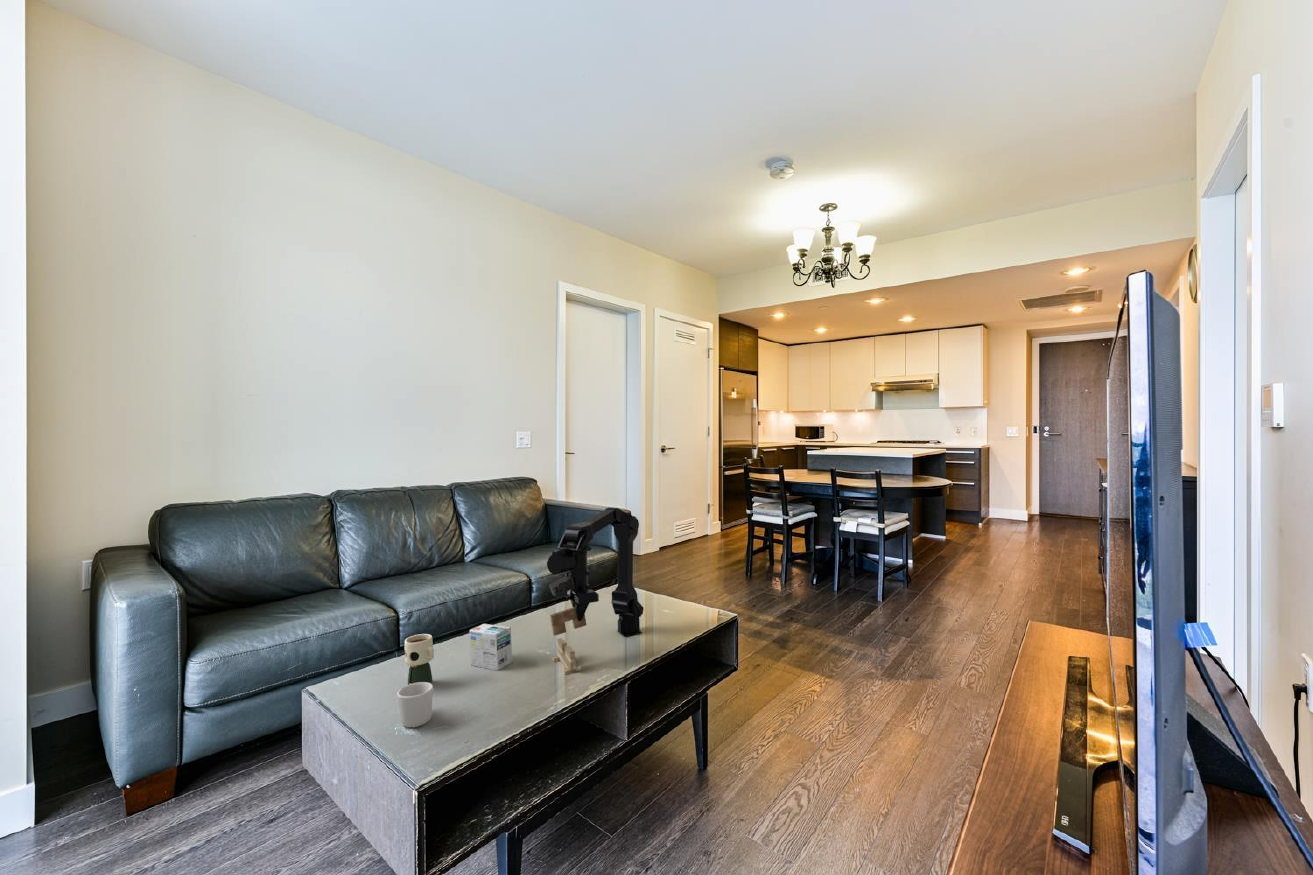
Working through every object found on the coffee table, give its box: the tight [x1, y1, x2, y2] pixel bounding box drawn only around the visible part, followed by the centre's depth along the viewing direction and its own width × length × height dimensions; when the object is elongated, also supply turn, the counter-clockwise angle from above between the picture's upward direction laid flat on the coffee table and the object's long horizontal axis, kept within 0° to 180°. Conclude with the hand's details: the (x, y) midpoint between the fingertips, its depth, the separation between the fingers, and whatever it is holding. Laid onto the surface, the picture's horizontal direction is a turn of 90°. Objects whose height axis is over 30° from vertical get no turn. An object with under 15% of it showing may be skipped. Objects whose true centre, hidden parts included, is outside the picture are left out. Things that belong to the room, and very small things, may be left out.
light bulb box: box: [469, 623, 513, 671], centre depth 165 cm, size 11×7×11 cm, turn 65°
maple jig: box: [551, 637, 582, 675], centre depth 162 cm, size 5×12×6 cm, turn 28°
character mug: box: [404, 633, 435, 685], centre depth 152 cm, size 11×7×13 cm, turn 63°
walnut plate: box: [549, 607, 587, 637], centre depth 164 cm, size 10×1×6 cm, turn 118°
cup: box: [396, 682, 434, 728], centre depth 133 cm, size 11×8×8 cm
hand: (578, 619), depth 165 cm, fingers closed on walnut plate, 1 cm apart
